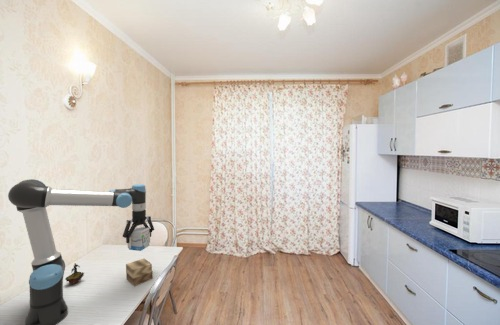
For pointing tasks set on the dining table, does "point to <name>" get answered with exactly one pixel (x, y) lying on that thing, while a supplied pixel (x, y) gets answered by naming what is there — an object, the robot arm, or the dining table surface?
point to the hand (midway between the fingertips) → (139, 245)
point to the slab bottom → (139, 278)
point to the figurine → (74, 275)
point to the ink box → (139, 238)
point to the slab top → (138, 268)
